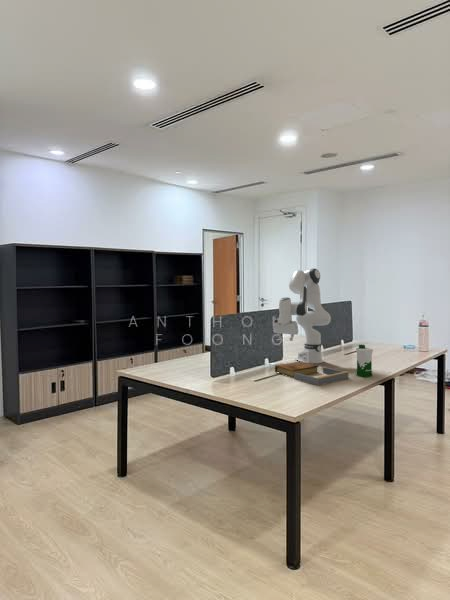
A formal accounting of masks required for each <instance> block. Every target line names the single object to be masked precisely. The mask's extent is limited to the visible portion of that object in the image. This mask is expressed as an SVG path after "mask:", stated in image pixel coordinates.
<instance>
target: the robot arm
mask: <svg viewBox="0 0 450 600" xmlns="http://www.w3.org/2000/svg"><path fill="white" fill-rule="evenodd" d="M320 279H321V272H320V271H319V270H318V269H317V268H310V269H307V270H304V271H303V270H301V269H298V270H295V271H294V272H293V274H292V275H291V278H290V280H289V284H288V287H289V290H290V291H291V292H292V293H294V294H295V295H299V296H300V301H292V300H291V297H287V296H286V297H281V298H279V301H278V302H279V303H278V312H279V315H278V318H276V319H273V324H272V325H273V327H272V329H273V333H274V334H277V336H278V340H279V341H282V340H283V337H282V336H281V335H282V334H283V335H284V334H285V335H290V337H289V341H291V342H293V341H294V340H293V339H294V336H295V335H298V334H299V327H298V325H299V326H300V327H301V328H302V329H303V330H304V333H305V343H304V348H302V349H301V350H300V351H299V352H298V353H297V357H296V358H294V361H296V360H298V361H297V362H299V361H301V362H305V363H310V364H322V363H324V360H323V356H322V355H323V354H322V343H321V342H322V341H321V340H322V337H321V336H322V335H321V332H320V331H318V330H317V329H314V328H313V327H314V326H320V327H321V326H327V325H329V324H330V323H331V320H332V317H331V315H330V313H329V312H328V311H326V310H325V309H324V308H323V305H322V303H321V290H320V285H319V282H320ZM308 308H309V309H311V310H310V311H309V310H308ZM312 310H313V311H312ZM293 316H296V317H295V319H296V320H292V319H293Z"/></svg>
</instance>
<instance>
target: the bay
mask: <svg viewBox="0 0 450 600" xmlns="http://www.w3.org/2000/svg"><path fill="white" fill-rule="evenodd" d="M322 373H323V374H325V375H323V376H319V377H315V376H310V375H303V374H299V373H294V378H293V379H294V380H295V379H296V381H299V380H300V382H303V381H304V383H306V384H307V383H308V384H310V385H315V386H322V385H326V384H331V383H335V382H340V381H344V380H347V379H349V378H350V376H349V374H350V373H349V371H348V370H340V369H335V368H330V367H327V366H323V367H322Z"/></svg>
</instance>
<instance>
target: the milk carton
mask: <svg viewBox="0 0 450 600" xmlns="http://www.w3.org/2000/svg"><path fill="white" fill-rule="evenodd" d="M373 351H374V349H373V348H370V347H366V345H365V344H358V348H355V352H356V374H355V375H356V376H358V377H362V378H369V377H370V378H371V377H373V370H372V369H373V368H372V367H373V366H372V362H373V360H372V359H373V358H372V356H373Z"/></svg>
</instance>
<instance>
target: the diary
mask: <svg viewBox="0 0 450 600" xmlns="http://www.w3.org/2000/svg"><path fill="white" fill-rule="evenodd" d="M319 367H320V366H319V365H318V364H315V363H305V362H301V361H300V362H299V361H294V362H289V363H288V362H287V363H283V364H282V363H281V364H275V365H274V373H275V372H279V373H281V374H280V375H282V374H284V375H283V376H285V375H287V376H286V377H289V376H290V377H289V378H292V377H293V378H292V379H294V373H299V374H303V375H307V376H310V375H316V374H319V372H318V368H319Z"/></svg>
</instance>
